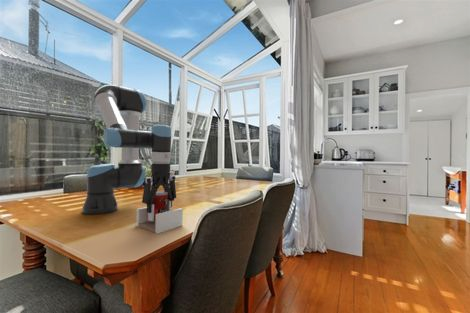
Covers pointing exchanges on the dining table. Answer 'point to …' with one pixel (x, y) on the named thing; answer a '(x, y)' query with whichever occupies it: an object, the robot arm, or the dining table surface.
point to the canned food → (160, 203)
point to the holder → (159, 220)
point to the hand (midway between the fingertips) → (159, 218)
